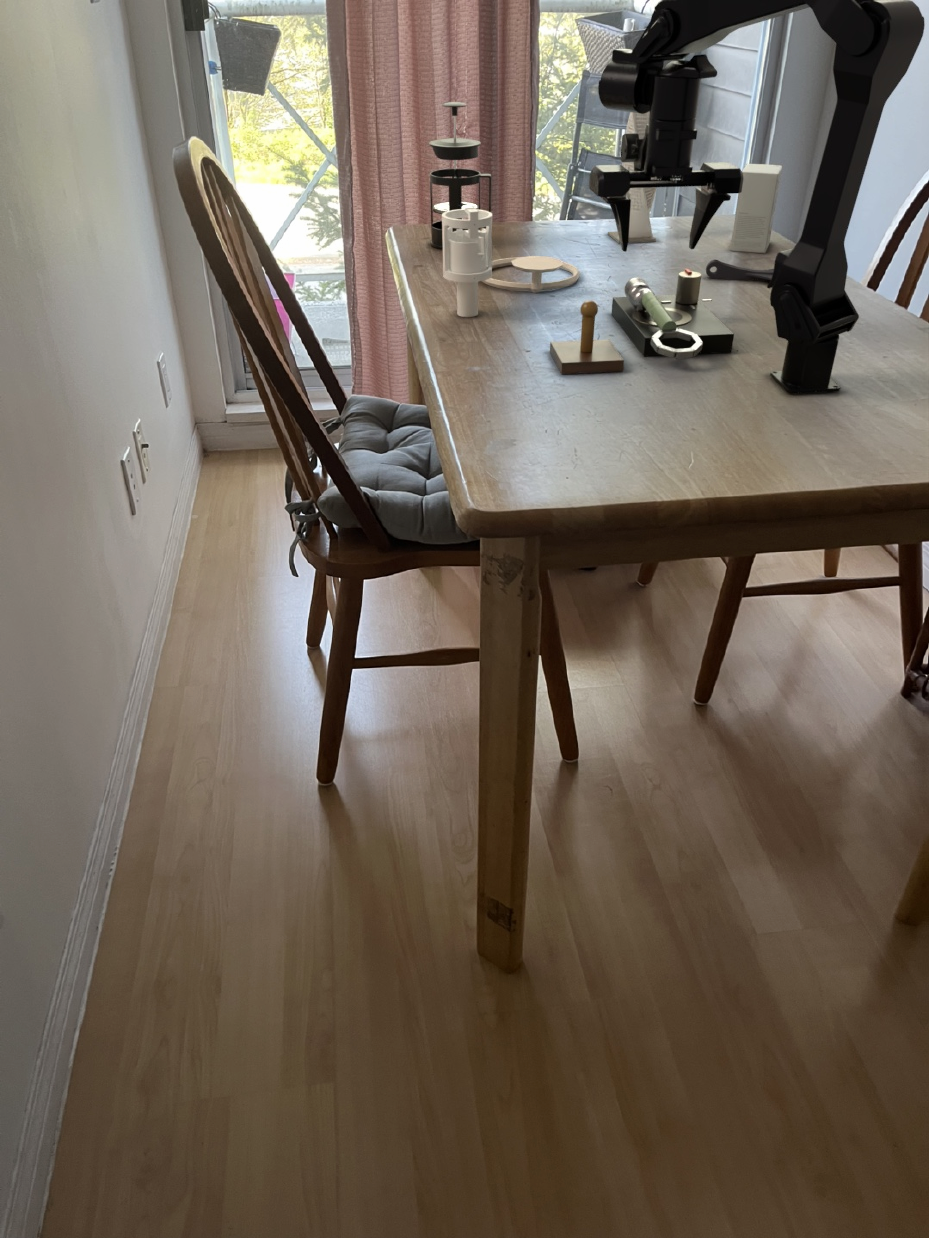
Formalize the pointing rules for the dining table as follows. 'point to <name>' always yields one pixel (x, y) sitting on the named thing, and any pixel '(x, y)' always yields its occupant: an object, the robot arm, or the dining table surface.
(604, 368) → the peg stand
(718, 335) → the stove
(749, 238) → the small box
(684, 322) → the burner
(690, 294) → the burner knob
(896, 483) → the dining table surface
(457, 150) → the french press
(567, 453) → the dining table surface
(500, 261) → the hand towel holder
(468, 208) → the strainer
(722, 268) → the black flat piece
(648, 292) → the green handled ring tool
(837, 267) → the robot arm
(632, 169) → the skyscraper
